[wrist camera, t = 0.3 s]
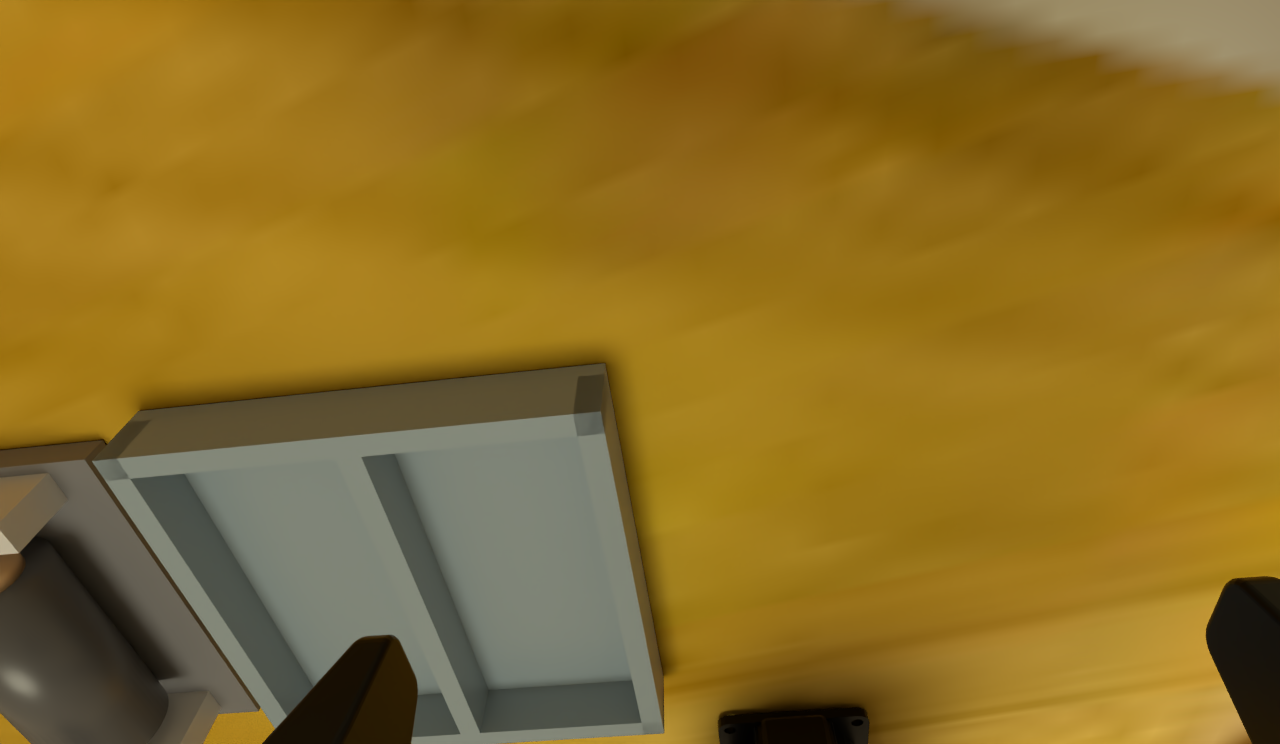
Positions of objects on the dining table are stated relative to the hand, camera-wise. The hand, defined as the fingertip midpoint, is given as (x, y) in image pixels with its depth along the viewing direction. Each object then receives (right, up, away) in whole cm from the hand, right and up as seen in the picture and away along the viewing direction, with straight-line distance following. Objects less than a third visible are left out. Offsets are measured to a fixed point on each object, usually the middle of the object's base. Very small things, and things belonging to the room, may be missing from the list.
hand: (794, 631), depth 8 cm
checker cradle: (-23, -6, +21) cm, 32 cm away
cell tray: (-9, -4, +20) cm, 23 cm away
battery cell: (-23, -6, +21) cm, 31 cm away
